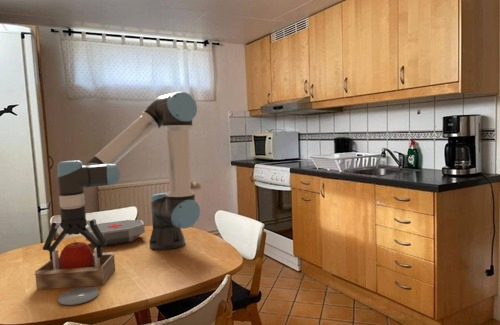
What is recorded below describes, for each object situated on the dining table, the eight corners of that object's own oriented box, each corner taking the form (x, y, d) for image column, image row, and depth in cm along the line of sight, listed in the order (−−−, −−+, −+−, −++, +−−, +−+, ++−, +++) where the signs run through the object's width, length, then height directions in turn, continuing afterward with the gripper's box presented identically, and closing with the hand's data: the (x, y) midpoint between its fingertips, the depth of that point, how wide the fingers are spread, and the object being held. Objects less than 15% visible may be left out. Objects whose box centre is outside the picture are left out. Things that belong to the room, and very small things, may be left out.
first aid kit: (86, 251, 155) (146, 242, 165) (85, 234, 154) (145, 226, 164) (86, 240, 171) (141, 233, 181) (85, 225, 170) (140, 218, 180)
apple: (64, 288, 117) (61, 246, 116) (58, 279, 125) (55, 239, 124) (98, 279, 123) (95, 239, 122) (90, 271, 131) (87, 233, 130)
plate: (103, 288, 115) (103, 285, 115) (91, 304, 104) (90, 301, 104) (67, 291, 115) (67, 288, 114) (51, 307, 104) (51, 304, 103)
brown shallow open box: (117, 267, 134) (116, 251, 133) (100, 288, 116) (99, 270, 115) (58, 271, 132) (57, 255, 132) (32, 292, 114) (31, 274, 114)
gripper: (113, 202, 127) (117, 262, 128) (39, 206, 125) (44, 266, 126) (107, 207, 119) (111, 269, 121) (28, 210, 117) (33, 274, 119)
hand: (77, 268), depth 124 cm, fingers open, 13 cm apart
